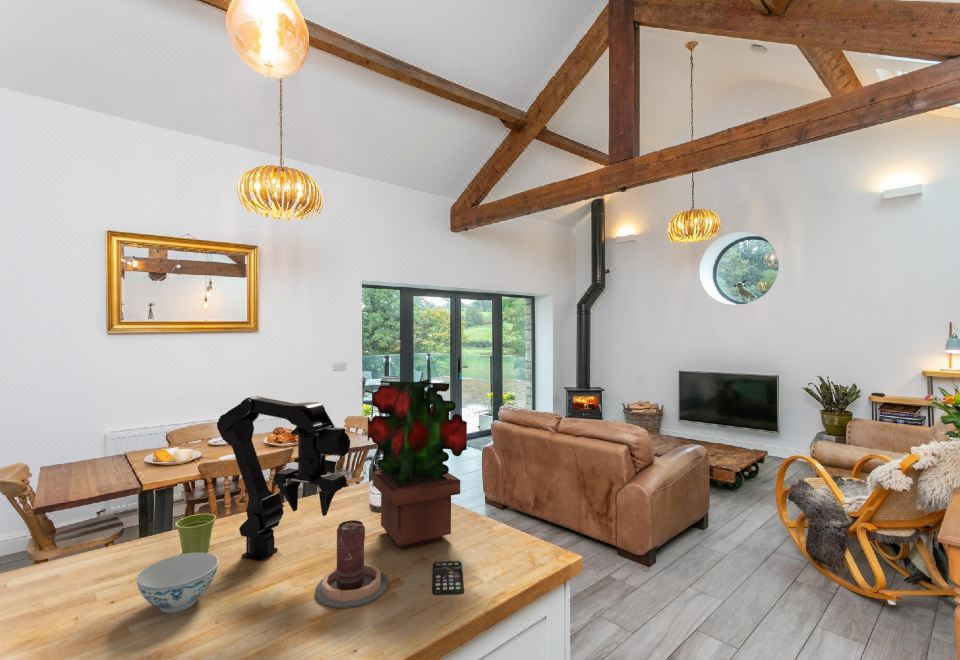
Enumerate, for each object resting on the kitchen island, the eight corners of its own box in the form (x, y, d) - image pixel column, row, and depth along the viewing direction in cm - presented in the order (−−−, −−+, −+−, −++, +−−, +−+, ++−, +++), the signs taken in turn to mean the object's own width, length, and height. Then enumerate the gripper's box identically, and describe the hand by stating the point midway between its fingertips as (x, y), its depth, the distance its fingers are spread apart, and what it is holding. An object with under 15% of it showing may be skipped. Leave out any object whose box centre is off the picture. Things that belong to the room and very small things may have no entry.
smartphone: (461, 560, 122) (464, 592, 107) (461, 563, 122) (464, 595, 107) (432, 562, 121) (431, 593, 106) (432, 564, 121) (431, 596, 106)
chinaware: (157, 634, 92) (157, 595, 92) (123, 610, 100) (123, 573, 100) (231, 597, 105) (232, 563, 105) (196, 578, 113) (196, 546, 113)
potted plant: (390, 561, 122) (391, 388, 122) (367, 529, 141) (368, 380, 142) (466, 542, 133) (467, 384, 133) (434, 515, 152) (435, 377, 152)
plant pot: (166, 556, 124) (166, 523, 124) (199, 542, 133) (200, 511, 133) (191, 563, 120) (191, 529, 120) (223, 548, 129) (223, 516, 129)
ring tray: (300, 600, 104) (300, 588, 104) (343, 566, 119) (343, 556, 119) (362, 614, 99) (362, 602, 99) (399, 577, 114) (399, 566, 114)
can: (364, 590, 107) (364, 528, 107) (335, 593, 106) (335, 530, 106) (365, 576, 113) (366, 518, 113) (338, 579, 112) (338, 520, 112)
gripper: (359, 448, 125) (358, 506, 125) (301, 442, 131) (301, 498, 131) (333, 458, 114) (332, 522, 114) (272, 452, 121) (271, 512, 121)
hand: (309, 513), depth 120 cm, fingers open, 9 cm apart
